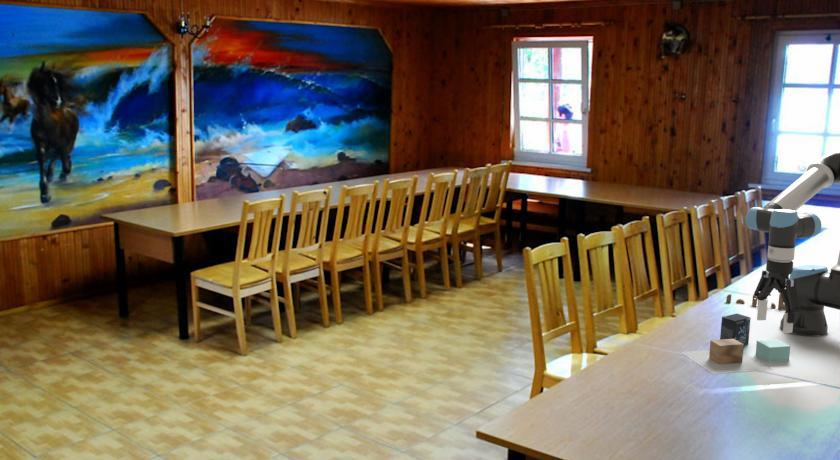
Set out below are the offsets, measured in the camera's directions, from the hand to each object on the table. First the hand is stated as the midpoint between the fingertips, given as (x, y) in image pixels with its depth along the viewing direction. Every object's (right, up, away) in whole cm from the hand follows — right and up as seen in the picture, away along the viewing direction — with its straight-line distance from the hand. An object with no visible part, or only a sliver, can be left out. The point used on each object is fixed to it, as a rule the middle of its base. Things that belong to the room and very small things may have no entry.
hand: (774, 326), depth 253 cm
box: (-7, -9, +16) cm, 19 cm away
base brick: (-15, -11, -1) cm, 19 cm away
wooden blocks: (+25, 0, +63) cm, 67 cm away
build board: (-15, -12, 0) cm, 19 cm away
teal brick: (0, -11, +2) cm, 12 cm away
